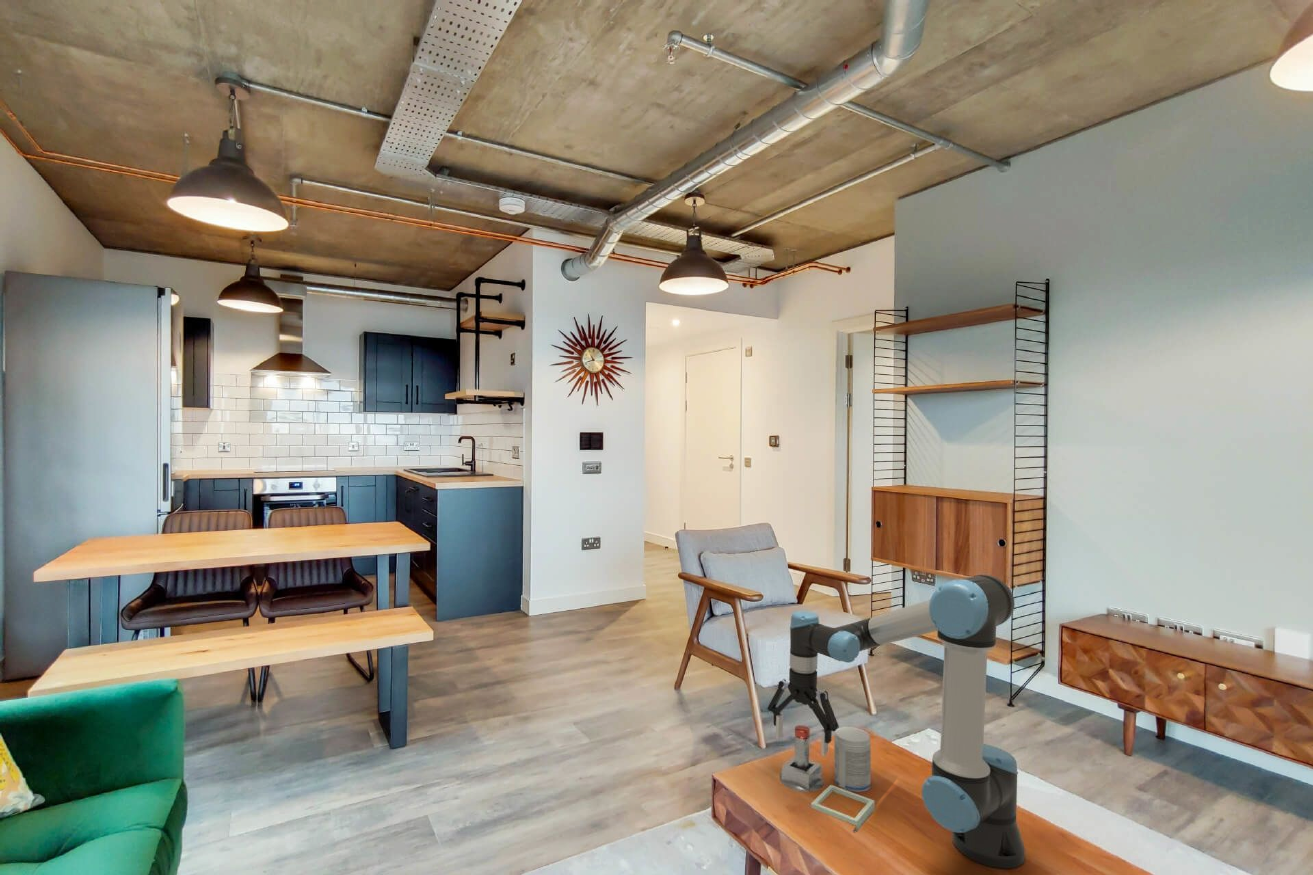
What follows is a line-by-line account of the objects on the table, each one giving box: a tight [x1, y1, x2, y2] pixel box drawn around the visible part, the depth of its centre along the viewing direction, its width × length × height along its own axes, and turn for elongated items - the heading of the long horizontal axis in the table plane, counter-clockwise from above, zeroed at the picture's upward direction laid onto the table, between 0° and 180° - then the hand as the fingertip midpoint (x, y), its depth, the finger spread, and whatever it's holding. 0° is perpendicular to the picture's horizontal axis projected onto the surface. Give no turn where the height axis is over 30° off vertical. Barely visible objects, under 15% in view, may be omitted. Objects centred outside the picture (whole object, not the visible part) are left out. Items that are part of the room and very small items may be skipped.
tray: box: [810, 784, 876, 832], centre depth 165 cm, size 12×12×2 cm
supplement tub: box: [833, 726, 872, 792], centre depth 177 cm, size 10×10×15 cm
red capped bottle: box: [793, 725, 811, 771], centre depth 177 cm, size 4×4×14 cm
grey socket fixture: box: [778, 755, 825, 793], centre depth 177 cm, size 12×12×6 cm
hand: (801, 745), depth 178 cm, fingers open, 13 cm apart
